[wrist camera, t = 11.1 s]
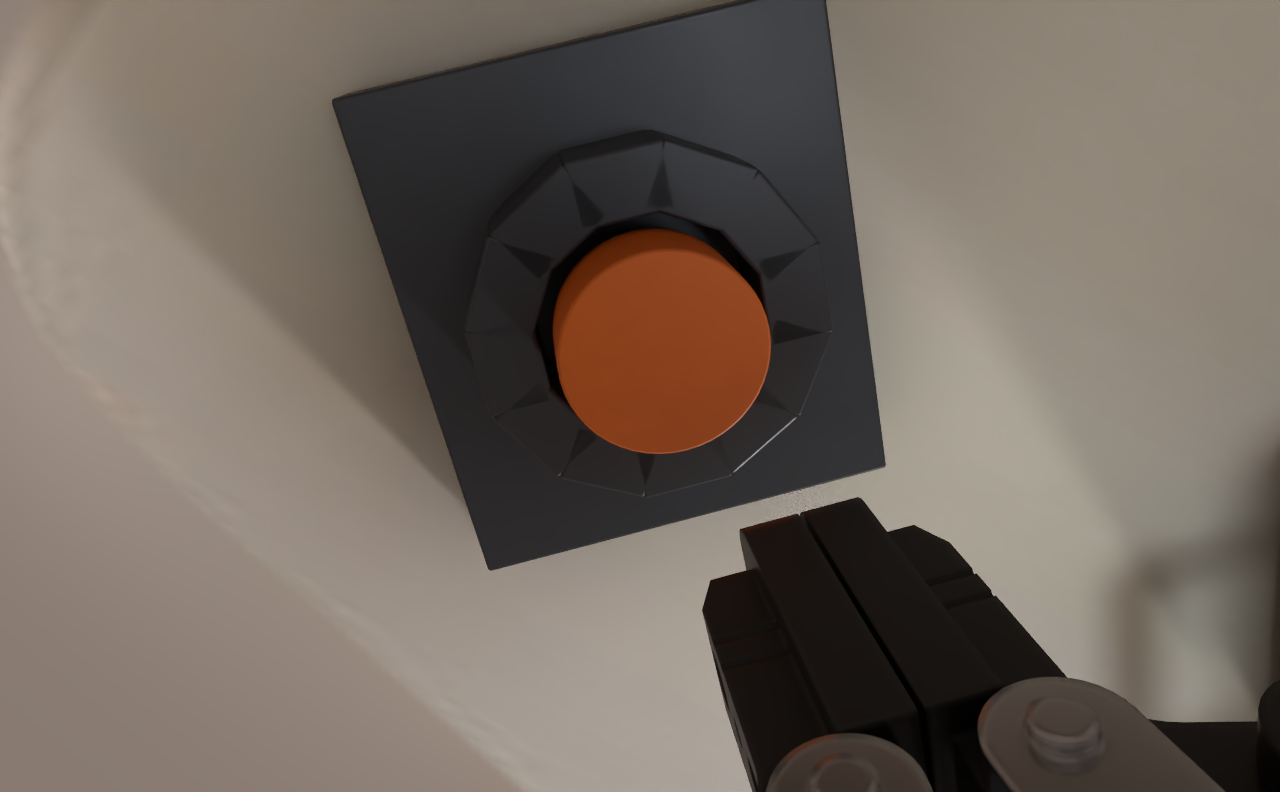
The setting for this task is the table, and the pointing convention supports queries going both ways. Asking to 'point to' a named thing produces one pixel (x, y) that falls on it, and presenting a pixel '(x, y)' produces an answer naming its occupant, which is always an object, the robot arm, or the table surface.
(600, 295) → the button
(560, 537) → the control block
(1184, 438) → the table surface
